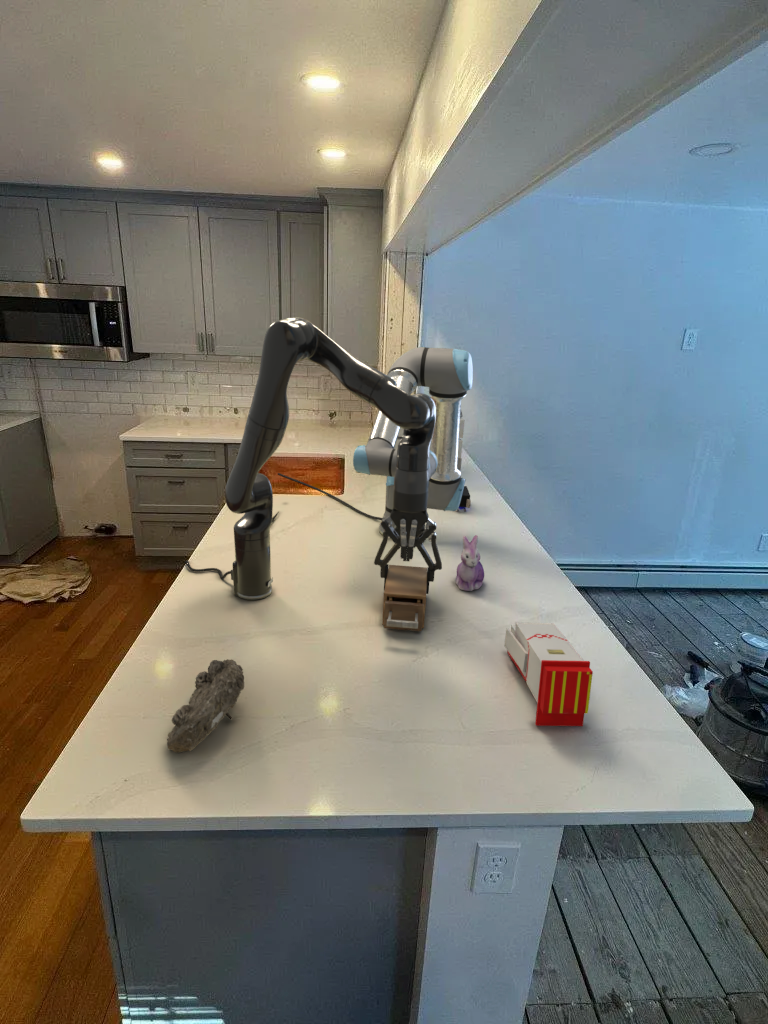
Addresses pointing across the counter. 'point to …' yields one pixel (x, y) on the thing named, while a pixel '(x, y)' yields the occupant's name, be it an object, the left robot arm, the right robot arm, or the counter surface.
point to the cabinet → (406, 584)
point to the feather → (274, 517)
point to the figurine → (470, 566)
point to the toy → (551, 672)
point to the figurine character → (465, 499)
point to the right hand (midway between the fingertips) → (406, 590)
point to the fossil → (206, 705)
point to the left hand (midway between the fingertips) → (406, 560)
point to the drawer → (403, 614)
